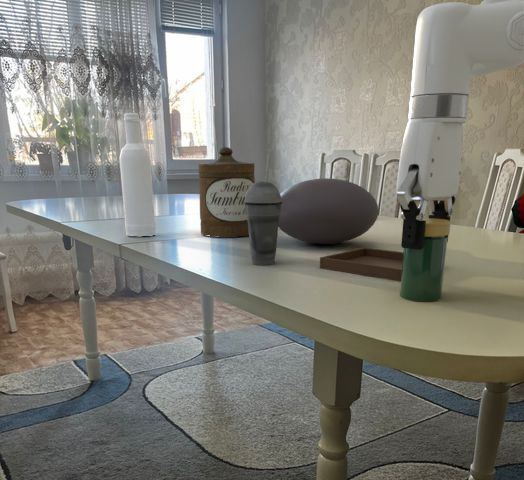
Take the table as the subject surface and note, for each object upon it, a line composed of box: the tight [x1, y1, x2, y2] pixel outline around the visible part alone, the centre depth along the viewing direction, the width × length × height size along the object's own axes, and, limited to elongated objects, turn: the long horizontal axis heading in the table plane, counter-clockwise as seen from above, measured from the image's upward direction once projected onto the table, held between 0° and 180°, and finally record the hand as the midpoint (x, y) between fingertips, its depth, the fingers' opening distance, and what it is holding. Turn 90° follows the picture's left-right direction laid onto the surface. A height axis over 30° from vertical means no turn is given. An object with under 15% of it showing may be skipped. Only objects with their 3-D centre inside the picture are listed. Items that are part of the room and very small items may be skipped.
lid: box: [423, 217, 452, 237], centre depth 78 cm, size 6×6×2 cm
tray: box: [319, 246, 403, 282], centre depth 102 cm, size 17×15×2 cm
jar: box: [399, 236, 448, 303], centre depth 80 cm, size 6×6×10 cm
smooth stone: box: [278, 178, 379, 245], centre depth 128 cm, size 25×25×15 cm
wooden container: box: [197, 146, 256, 238], centre depth 143 cm, size 15×15×22 cm
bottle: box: [119, 112, 157, 236], centre depth 140 cm, size 8×8×30 cm
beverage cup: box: [244, 155, 282, 266], centre depth 104 cm, size 7×7×20 cm
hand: (424, 244), depth 79 cm, fingers closed on lid, 6 cm apart
